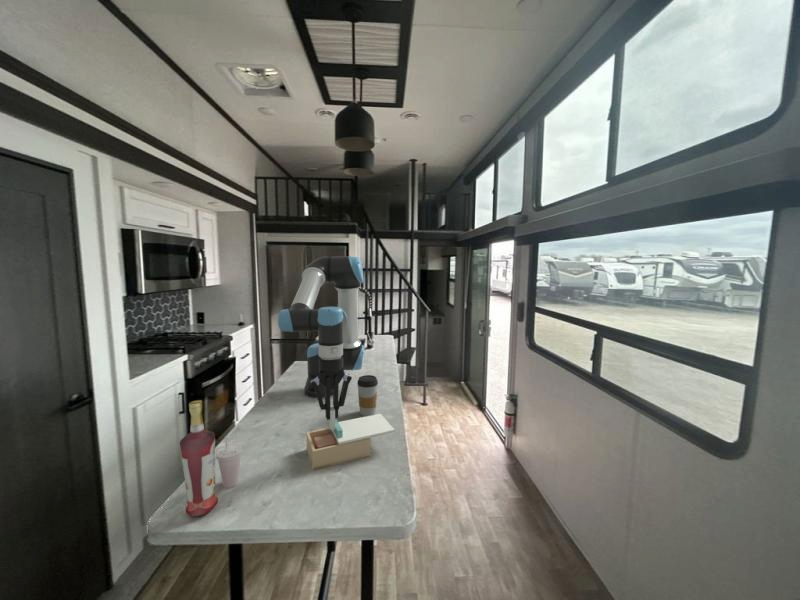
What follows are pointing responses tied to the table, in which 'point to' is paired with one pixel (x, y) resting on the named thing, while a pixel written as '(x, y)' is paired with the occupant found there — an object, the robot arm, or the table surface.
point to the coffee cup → (367, 394)
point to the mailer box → (333, 449)
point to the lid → (361, 428)
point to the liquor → (199, 464)
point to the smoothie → (229, 464)
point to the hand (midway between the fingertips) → (332, 427)
